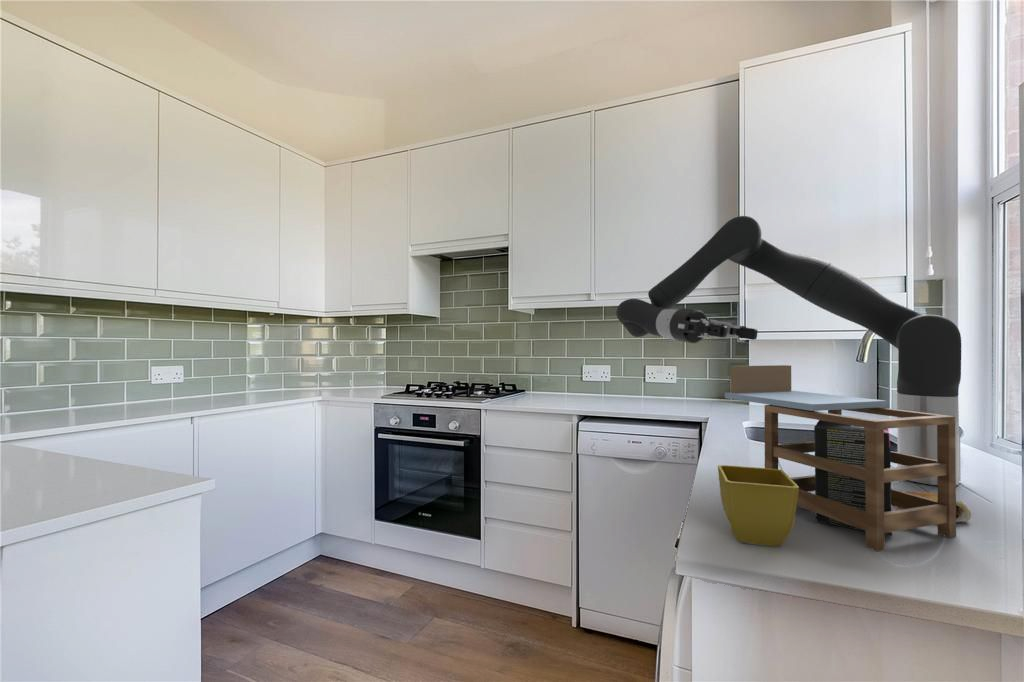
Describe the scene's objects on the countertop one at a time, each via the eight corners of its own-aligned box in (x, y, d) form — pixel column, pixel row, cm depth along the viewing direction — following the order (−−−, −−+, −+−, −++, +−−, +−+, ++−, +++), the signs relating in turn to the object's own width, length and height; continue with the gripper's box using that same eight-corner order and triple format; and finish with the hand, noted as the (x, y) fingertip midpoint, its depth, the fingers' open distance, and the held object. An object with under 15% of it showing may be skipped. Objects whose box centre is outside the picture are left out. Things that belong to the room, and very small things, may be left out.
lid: (789, 395, 91) (789, 365, 91) (886, 406, 74) (886, 369, 74) (724, 398, 86) (724, 366, 86) (812, 411, 69) (812, 371, 69)
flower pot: (800, 557, 59) (800, 486, 59) (726, 548, 61) (726, 480, 61) (782, 530, 67) (781, 469, 67) (717, 523, 70) (717, 464, 70)
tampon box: (893, 538, 64) (892, 432, 64) (813, 522, 70) (813, 425, 70) (889, 515, 73) (888, 422, 73) (819, 502, 78) (818, 416, 79)
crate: (834, 497, 82) (833, 401, 82) (956, 536, 65) (955, 416, 65) (764, 506, 77) (764, 405, 78) (876, 551, 60) (876, 421, 61)
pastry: (884, 504, 79) (884, 481, 79) (924, 504, 79) (924, 482, 79) (933, 525, 70) (933, 500, 70) (978, 526, 70) (978, 500, 70)
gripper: (659, 305, 103) (718, 311, 88) (706, 310, 108) (768, 317, 94) (654, 339, 103) (712, 350, 89) (701, 342, 109) (762, 353, 95)
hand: (741, 333), depth 91 cm, fingers open, 8 cm apart
